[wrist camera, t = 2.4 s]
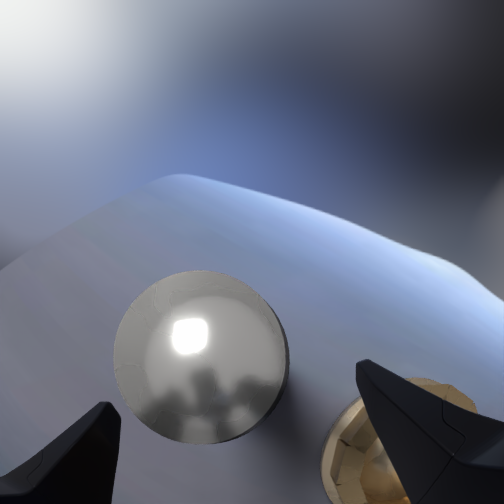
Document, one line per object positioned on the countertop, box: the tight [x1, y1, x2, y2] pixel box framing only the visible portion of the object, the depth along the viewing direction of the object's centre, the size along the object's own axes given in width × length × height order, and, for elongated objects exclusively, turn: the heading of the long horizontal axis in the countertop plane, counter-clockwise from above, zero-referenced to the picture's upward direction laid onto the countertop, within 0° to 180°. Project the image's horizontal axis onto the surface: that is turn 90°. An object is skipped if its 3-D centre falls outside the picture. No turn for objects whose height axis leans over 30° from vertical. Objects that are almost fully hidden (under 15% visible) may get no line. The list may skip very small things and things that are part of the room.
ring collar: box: [320, 378, 478, 504], centre depth 11 cm, size 10×10×4 cm
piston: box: [113, 270, 290, 444], centre depth 12 cm, size 5×5×12 cm
